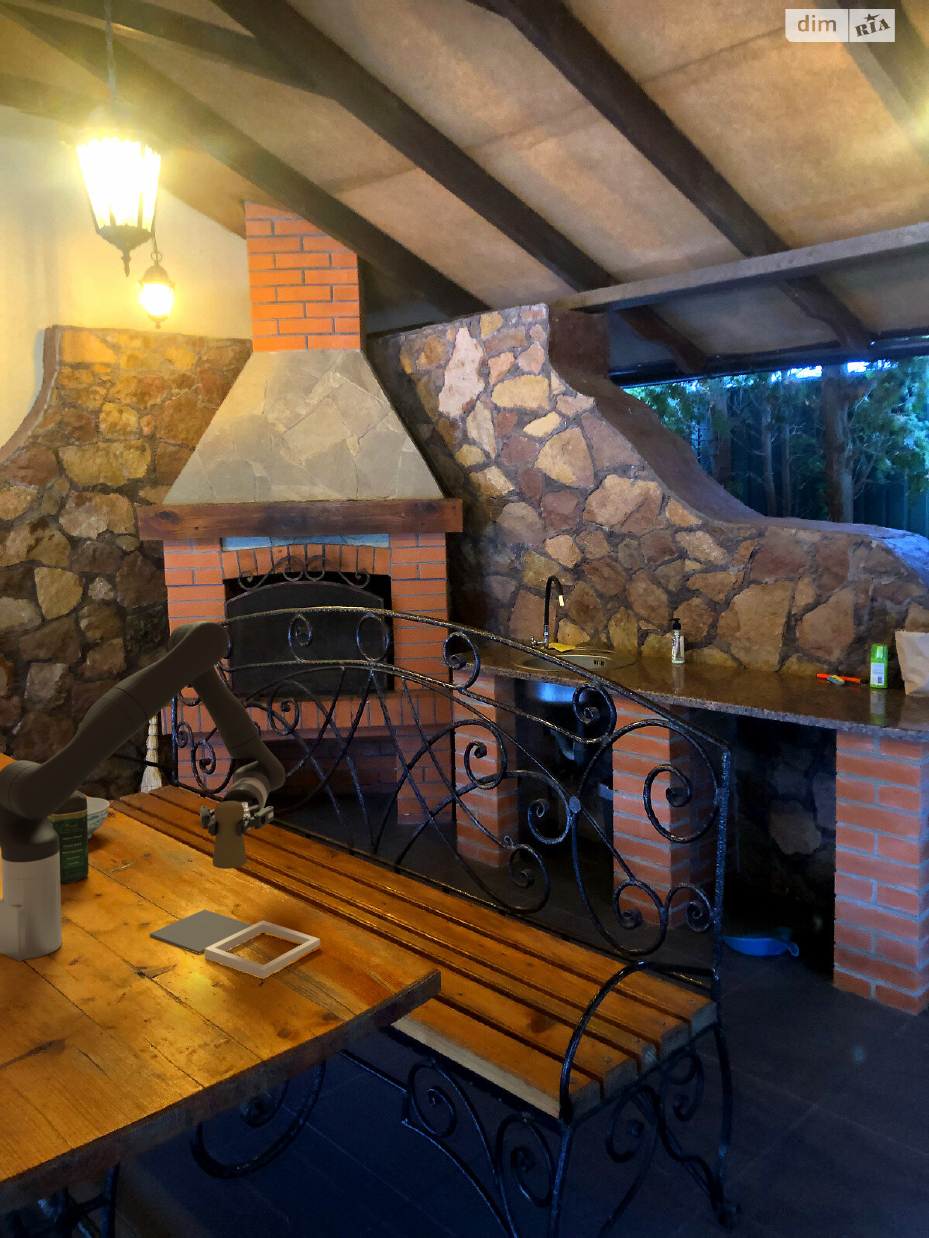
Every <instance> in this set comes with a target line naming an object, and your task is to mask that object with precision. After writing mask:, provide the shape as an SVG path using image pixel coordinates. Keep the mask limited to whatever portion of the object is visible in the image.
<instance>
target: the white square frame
mask: <svg viewBox="0 0 929 1238" xmlns="http://www.w3.org/2000/svg"><path fill="white" fill-rule="evenodd" d="M251 925H252V926H250V927H248V928H246V929H244V930H242V931H240V932H238V933H236V934H234V935H231V936H229V937H227V938H225V939H223V940H221V941H219V942H217V943H215V944H213V945H211V946H209V947H207V948H205V952H204V959H205V958H208V959H210V960H213V961H217V962H219V963H222V964H223V965H222V966H224V965H228V966H230V967H232V968H236V969H239V970H241V971H243V972H248V973H250V974H253V975H256V976H259V977H261V978H265V977H266V976H268V975H270V974H271V973H272V972H274V971H276V970H278V969H279V968H281V967H283V966H284V965H287V964H288V963H289V962H291V961H293V960H295V959H297V958H299V957H300V956H301V955H304V954H305V953H307V952H308V951H311V950H312V949H314V948H316V947H317V946H319V945H320V946H321V938H319V937H315V936H313V935H309V934H306V933H303V932H300V931H296V930H294V929H291V928H287V927H284V926H282V925H278V924H275V923H272V922H268V921H266V920H260V921H259V922H257V923H255V924H251ZM261 932H265V933H268V934H273V935H277V936H279V937H281V938H286V939H289V940H292V941H296V942H299V943H302V945H300V946H299V945H297V946H296V947H295V948H293V949H291V950H289V951H286V952H285V953H283V954H281V955H279V956H278V957H276V958H274V959H273V960H270V961H269V962H267V963H266V964H261V963H259V962H256V961H253V960H250V959H248V958H245V957H243V956H242V957H241V956H239V955H236V954H234V953H230V952H228V951H227V950H229V949H230V948H233V949H234V947H235V946H236V945H238V944H241V943H243V942H244V941H247V940H248V939H250V938H252V937H254V936H256V935H257V934H260V933H261ZM247 942H248V941H247ZM243 944H244V943H243ZM241 945H242V944H241ZM235 948H236V947H235ZM226 951H227V952H226ZM229 951H230V950H229ZM208 959H207V960H208ZM210 960H209V961H210ZM213 961H212V962H213ZM232 968H231V969H232ZM243 972H242V973H243Z"/></svg>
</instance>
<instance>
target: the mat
mask: <svg viewBox="0 0 929 1238" xmlns="http://www.w3.org/2000/svg"><path fill="white" fill-rule="evenodd" d="M252 925H253V924H250V923H246V922H243V921H242V920H238V919H234V918H232V917H229V916H226V915H223V914H219V913H217V912H213V911H212V910H209V909H208V910H207V909H203V910H200V911H199V912H195V913H194V914H191V915H189V916H185V917H184V918H182V919H179V920H177V921H175V922H172V923H171V924H168V925H166V926H164V927H161V928H159V929H157V930H155V931H151V932H150V933H149V937H151V938H153V939H157V940H159V941H162V942H165V943H167V944H170V945H172V944H173V946H175V945H176V946H175V947H177V948H180V947H181V949H183V948H185V949H184V950H186V949H188V950H187V951H189V950H190V951H189V952H191V951H194V952H197V953H201V952H203V951H205V948H207V947H209V946H211V945H213V944H215V943H217V942H219V941H221V940H223V939H225V938H227V937H229V936H231V935H234V934H236V933H238V932H240V931H242V930H244V929H246V928H248V927H250V926H252ZM194 952H193V953H194ZM197 953H196V954H197ZM203 953H204V952H203ZM201 954H202V953H201Z"/></svg>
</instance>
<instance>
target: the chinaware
mask: <svg viewBox="0 0 929 1238" xmlns="http://www.w3.org/2000/svg"><path fill="white" fill-rule="evenodd" d="M86 798H87V809H88V810H87V821H88V840H89V839H91V838H92V834H93V833H95V832H96V831H97V830H98V829H100V827H101V826H102V824H103V823H104V822H105V821H106V819H107V816H108V813H109V810H110V809H109V808H110V802H109V801H108V800H106V799H104V798H99V797H87V796H86Z"/></svg>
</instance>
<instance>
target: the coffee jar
mask: <svg viewBox="0 0 929 1238" xmlns="http://www.w3.org/2000/svg"><path fill="white" fill-rule="evenodd" d="M86 797H87V796H86V795H85V794H84V793H83V792H81V791H79V790H78V789H77V790H76V791H75V792H74V793H73V794H72V795H71V796H70V798H69V799H68V800H67V801H66V802H65V803H64V804H63V805H62V806H61V807H60V808H59V809H58V810H57V811H55V812H54V813H53V814H51V815H50V816H48V820H49V822H50V824H51V826H52V827H53V829H54V830H55V831H56V833H57V834H58V837H59V854H60V883H67V884H68V883H75V882H77V881H79V880H82V879H86V878H87V877H88V876H89V873H90V872H89V870H90V869H89V867H90V866H89V865H90V863H89V839H88V821H87V810H88V809H87V798H86Z"/></svg>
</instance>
